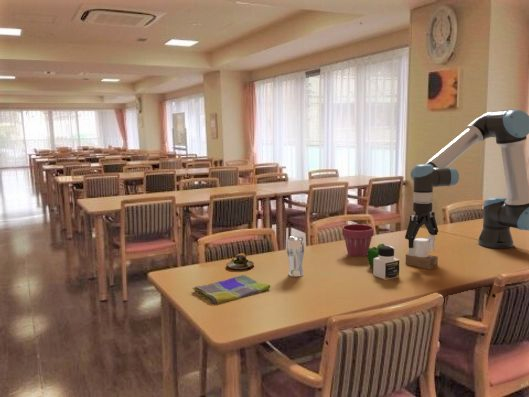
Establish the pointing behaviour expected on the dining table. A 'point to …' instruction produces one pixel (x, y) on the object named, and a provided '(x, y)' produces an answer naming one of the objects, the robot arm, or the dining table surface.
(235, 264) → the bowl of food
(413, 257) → the walnut base block
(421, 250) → the white cup
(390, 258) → the medicine bottle
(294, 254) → the beer glass
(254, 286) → the dish towel
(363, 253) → the plant pot
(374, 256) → the bell pepper
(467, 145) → the robot arm
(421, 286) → the dining table surface
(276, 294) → the dining table surface
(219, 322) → the dining table surface
